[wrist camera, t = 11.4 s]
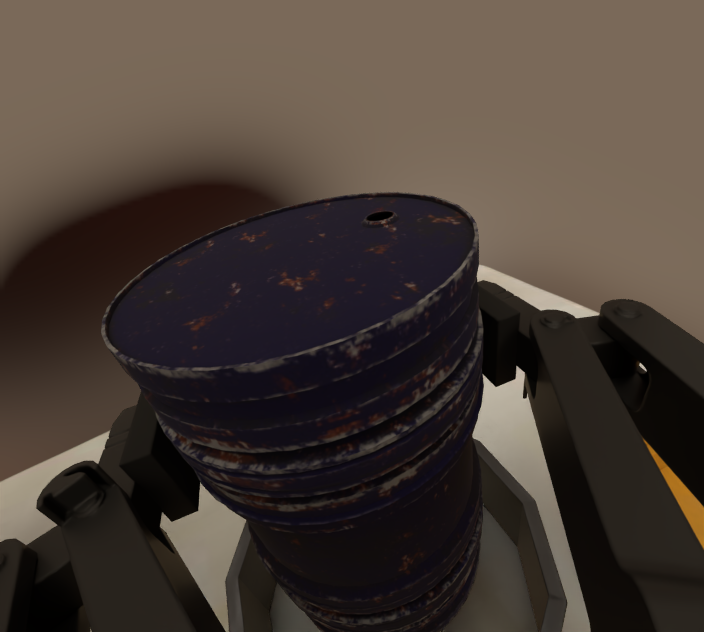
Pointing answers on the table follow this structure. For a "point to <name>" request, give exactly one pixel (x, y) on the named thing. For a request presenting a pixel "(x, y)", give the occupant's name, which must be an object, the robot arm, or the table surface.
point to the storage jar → (328, 396)
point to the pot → (498, 497)
